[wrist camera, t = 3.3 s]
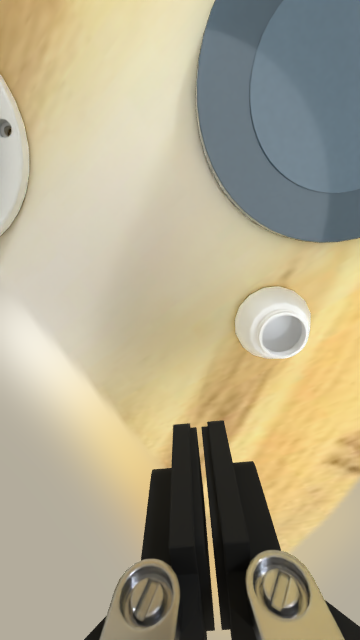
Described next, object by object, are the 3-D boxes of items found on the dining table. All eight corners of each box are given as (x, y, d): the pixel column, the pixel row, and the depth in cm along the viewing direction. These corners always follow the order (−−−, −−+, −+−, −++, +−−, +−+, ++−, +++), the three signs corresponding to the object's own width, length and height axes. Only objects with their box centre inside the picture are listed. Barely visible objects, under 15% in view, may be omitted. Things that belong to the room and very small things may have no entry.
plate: (207, 254, 20) (208, 256, 19) (180, -80, 15) (181, -104, 14) (457, 226, 19) (474, 227, 18) (518, -127, 14) (547, -156, 13)
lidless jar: (289, 360, 22) (317, 296, 21) (305, 381, 19) (339, 308, 18) (224, 343, 22) (248, 276, 20) (231, 361, 19) (260, 285, 17)
